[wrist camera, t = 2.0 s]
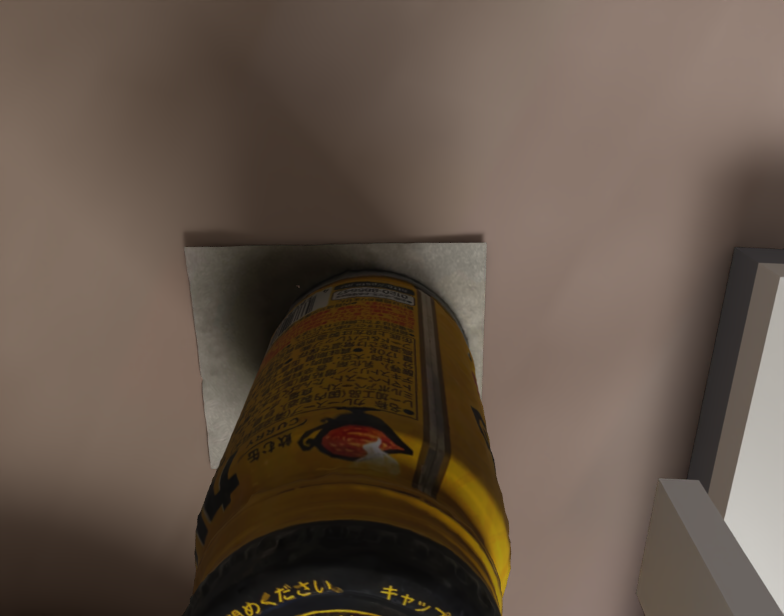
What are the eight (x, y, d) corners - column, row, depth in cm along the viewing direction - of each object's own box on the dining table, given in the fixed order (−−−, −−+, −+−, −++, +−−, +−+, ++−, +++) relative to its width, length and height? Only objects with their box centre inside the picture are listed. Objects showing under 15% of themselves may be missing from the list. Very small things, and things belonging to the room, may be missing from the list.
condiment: (479, 463, 24) (549, 855, 12) (212, 465, 24) (43, 854, 13) (485, 239, 21) (582, 477, 10) (186, 243, 21) (-53, 481, 10)
